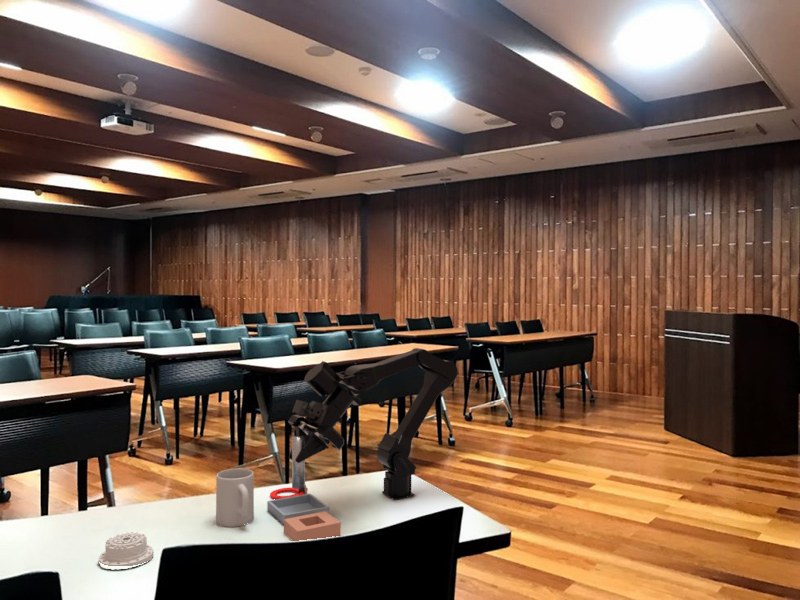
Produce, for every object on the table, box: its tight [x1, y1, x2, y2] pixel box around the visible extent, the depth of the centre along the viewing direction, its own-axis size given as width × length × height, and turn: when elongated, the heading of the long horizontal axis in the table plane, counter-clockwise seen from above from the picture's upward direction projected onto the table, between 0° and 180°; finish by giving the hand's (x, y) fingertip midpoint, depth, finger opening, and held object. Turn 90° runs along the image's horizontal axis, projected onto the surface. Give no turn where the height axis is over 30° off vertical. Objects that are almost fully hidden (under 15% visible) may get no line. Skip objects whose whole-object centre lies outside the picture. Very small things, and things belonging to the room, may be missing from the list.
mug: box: [215, 468, 255, 528], centre depth 146 cm, size 12×8×11 cm
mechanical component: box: [98, 531, 154, 566], centre depth 126 cm, size 10×4×10 cm
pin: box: [291, 435, 306, 489], centre depth 151 cm, size 3×3×12 cm
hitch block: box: [283, 511, 341, 542], centre depth 139 cm, size 10×8×3 cm
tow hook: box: [269, 484, 309, 500], centre depth 165 cm, size 8×13×9 cm
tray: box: [266, 493, 330, 527], centre depth 151 cm, size 11×11×2 cm
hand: (293, 460), depth 150 cm, fingers closed on pin, 3 cm apart
